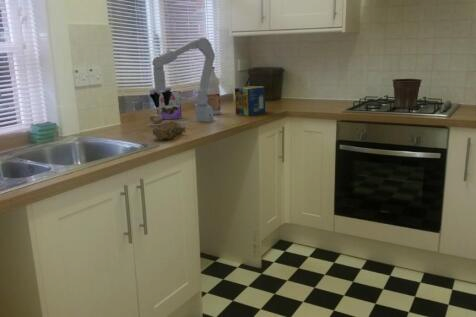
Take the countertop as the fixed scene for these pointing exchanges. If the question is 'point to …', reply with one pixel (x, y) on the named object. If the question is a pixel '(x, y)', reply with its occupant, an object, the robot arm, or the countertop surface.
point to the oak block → (155, 119)
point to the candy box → (170, 106)
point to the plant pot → (406, 92)
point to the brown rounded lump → (168, 130)
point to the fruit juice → (214, 93)
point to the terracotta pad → (166, 121)
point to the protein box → (250, 100)
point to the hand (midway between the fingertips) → (162, 106)
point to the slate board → (174, 121)
